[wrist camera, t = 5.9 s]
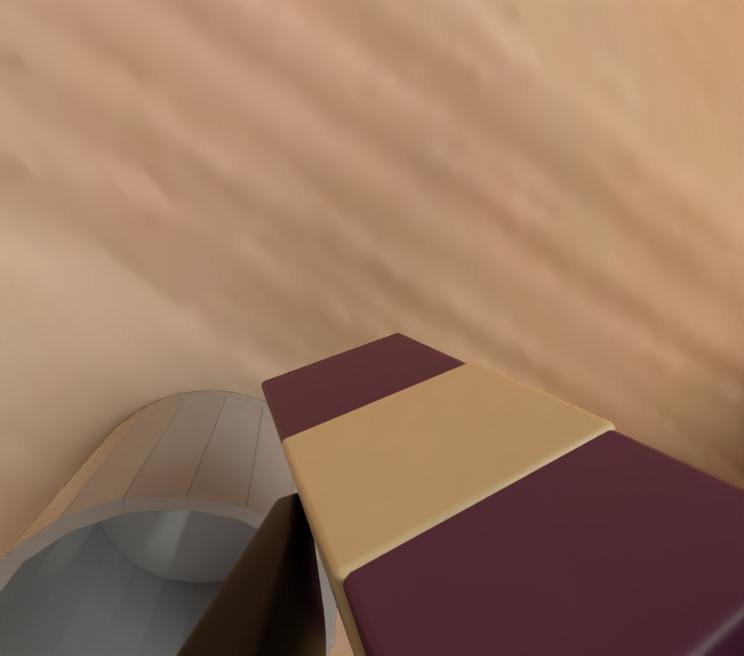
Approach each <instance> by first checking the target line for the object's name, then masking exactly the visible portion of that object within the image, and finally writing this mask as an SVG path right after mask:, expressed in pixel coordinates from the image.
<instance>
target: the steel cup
mask: <svg viewBox="0 0 744 656" xmlns="http://www.w3.org/2000/svg"><path fill="white" fill-rule="evenodd" d="M294 493H298V491H297V488H296V485H295V482H294V480H293V477H292V474H291V471H290V468H289V465H288V462H287V459H286V456H285V453H284V450H283V448H282V444H281V441H280V438H279V436H278V433H277V430H276V427H275V424H274V421H273V418H272V415H271V412H270V409H269V406H268V404H267V403H265V402H263V401H260V400H258V399H255V398H252V397H250V396H246V395H241V394H237V393H232V392H223V391H197V392H189V393H183V394H179V395H175V396H170V397H167V398H165V399H162V400H159V401H156V402H154V403H152V404H150V405H148V406H146V407H144V408H142V409H140V410H139V411H137V412H136V413H134V414H133V415H131V416H130V417H129V418H127V419H126V420H125V421H124V422H123V423H122V424H120V425H119V426H118V427H117V428H115V429H114V430H113V431H112V432H111V433H110V435H109V436H108V437H107V438H106V439H105V440H104V441H103V443H102V444H101V445H100V446H99V447H98V448H97V450H96V451H95V452H94V453H93V454H92V455H91V456H90V458H89V459H88V460H87V461H86V462H85V463H84V465H83V466H82V467H81V468H80V469H79V470H78V471H77V473H76V474H75V475H74V476H73V477H72V478H71V480H70V481H69V482H68V483H67V484H66V485H65V486H64V488H63V489H62V490H61V491H60V492H59V493H58V494H57V496H56V497H55V498H54V499H53V500H52V501H51V503H50V504H49V505H48V506H47V507H46V508H45V509H44V511H43V512H42V513H41V514H40V515H39V516H38V518H37V519H36V520H35V521H34V522H33V523H32V524H31V526H30V527H29V528H28V529H27V530H26V531H25V533H24V534H23V535H22V536H21V537H20V538H19V539H18V541H17V542H16V543H15V544H14V545H13V546H12V547H11V549H10V550H9V551H8V552H7V553H6V554H5V556H4V557H3V558H2V560H1V561H0V656H176V655H177V653H178V652H179V650H180V649H181V647H182V646H183V644H184V643H185V641H186V640H187V638H188V636H189V635H190V633H191V632H192V630H193V629H194V627H195V626H196V624H197V622H198V621H199V619H200V618H201V616H202V615H203V613H204V612H205V610H206V609H207V607H208V605H209V604H210V602H211V601H212V599H213V598H214V596H215V595H216V593H217V592H218V590H219V588H220V587H221V585H222V584H223V582H224V581H225V579H226V578H227V576H228V574H229V573H230V571H231V570H232V568H233V567H234V565H235V564H236V562H237V561H238V559H239V557H240V556H241V554H242V553H243V551H244V550H245V548H246V547H247V545H248V544H249V542H250V540H251V539H252V537H253V536H254V534H255V533H256V531H257V530H258V528H259V526H260V525H261V523H262V522H263V520H264V519H265V517H266V516H267V514H268V513H269V511H270V509H271V508H272V506H273V505H274V503H275V502H276V500H277V499H279V498H281V497H284V496H287V495H290V494H294ZM314 542H315V541H314ZM315 549H316V557H317V564H318V571H319V578H320V585H321V593H322V600H323V607H324V616H325V629H326V656H329V654H330V651H331V649H332V647H333V645H334V641H335V630H336V613H337V605H336V602H335V599H334V596H333V593H332V590H331V587H330V584H329V581H328V578H327V575H326V573H325V570H324V567H323V564H322V561H321V558H320V555H319V552H318V549H317V546H316V544H315Z"/></svg>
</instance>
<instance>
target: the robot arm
mask: <svg viewBox="0 0 744 656" xmlns="http://www.w3.org/2000/svg"><path fill="white" fill-rule="evenodd" d="M176 656H326V629H325V616H324V607H323V600H322V593H321V585H320V578H319V571H318V564H317V557H316V549H315V542H314V538H313V535H312V532H311V529H310V526H309V523H308V520H307V517H306V514H305V512H304V509H303V506H302V503H301V500H300V497H299V494H298V493H294V494H290V495H287V496H284V497H281V498H279V499H277V500H276V502H275V503H274V505H273V506H272V508H271V509H270V511H269V513H268V514H267V516H266V517H265V519H264V520H263V522H262V523H261V525H260V526H259V528H258V530H257V531H256V533H255V534H254V536H253V537H252V539H251V540H250V542H249V544H248V545H247V547H246V548H245V550H244V551H243V553H242V554H241V556H240V557H239V559H238V561H237V562H236V564H235V565H234V567H233V568H232V570H231V571H230V573H229V574H228V576H227V578H226V579H225V581H224V582H223V584H222V585H221V587H220V588H219V590H218V592H217V593H216V595H215V596H214V598H213V599H212V601H211V602H210V604H209V605H208V607H207V609H206V610H205V612H204V613H203V615H202V616H201V618H200V619H199V621H198V622H197V624H196V626H195V627H194V629H193V630H192V632H191V633H190V635H189V636H188V638H187V640H186V641H185V643H184V644H183V646H182V647H181V649H180V650H179V652H178V653H177V655H176Z"/></svg>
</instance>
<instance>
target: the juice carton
mask: <svg viewBox="0 0 744 656" xmlns="http://www.w3.org/2000/svg"><path fill="white" fill-rule="evenodd" d="M262 389H263V392H264V395H265V398H266V401H267V404H268V406H269V409H270V412H271V415H272V418H273V421H274V424H275V427H276V430H277V433H278V436H279V438H280V441H281V444H282V448H283V450H284V453H285V456H286V459H287V462H288V465H289V468H290V471H291V474H292V477H293V480H294V482H295V485H296V488H297V491H298V494H299V497H300V500H301V503H302V506H303V509H304V512H305V514H306V517H307V520H308V523H309V526H310V529H311V532H312V535H313V538H314V541H315V544H316V546H317V549H318V552H319V555H320V558H321V561H322V564H323V567H324V570H325V573H326V575H327V578H328V581H329V584H330V587H331V590H332V593H333V596H334V599H335V602H336V605H337V607H338V610H339V613H340V616H341V619H342V622H343V625H344V628H345V631H346V634H347V637H348V639H349V642H350V645H351V648H352V651H353V654H354V656H744V489H742V488H740V487H738V486H735V485H733V484H731V483H729V482H727V481H724V480H722V479H720V478H718V477H716V476H713V475H711V474H709V473H707V472H705V471H702V470H700V469H698V468H696V467H694V466H691V465H689V464H687V463H685V462H683V461H680V460H678V459H676V458H674V457H671V456H669V455H667V454H665V453H663V452H660V451H658V450H656V449H654V448H652V447H649V446H647V445H645V444H643V443H641V442H638V441H636V440H634V439H632V438H630V437H627V436H625V435H623V434H621V433H619V432H616V428H615V426H614V424H613V423H612V422H611V421H608V420H606V419H604V418H602V417H599V416H597V415H595V414H592V413H590V412H588V411H585V410H583V409H581V408H579V407H576V406H574V405H572V404H569V403H567V402H565V401H562V400H560V399H558V398H556V397H553V396H551V395H549V394H546V393H544V392H542V391H539V390H537V389H535V388H533V387H530V386H528V385H526V384H523V383H521V382H519V381H516V380H514V379H512V378H510V377H507V376H505V375H503V374H500V373H498V372H496V371H493V370H491V369H489V368H487V367H484V366H482V365H480V364H477V363H475V362H469V363H467V364H466V363H464V362H462V361H460V360H457V359H455V358H453V357H451V356H449V355H446V354H444V353H442V352H440V351H438V350H435V349H433V348H431V347H429V346H427V345H424V344H422V343H420V342H418V341H416V340H413V339H411V338H409V337H407V336H404V335H402V334H400V333H396V334H393V335H390V336H387V337H385V338H382V339H379V340H376V341H374V342H371V343H368V344H365V345H363V346H360V347H357V348H354V349H352V350H349V351H346V352H343V353H341V354H338V355H335V356H332V357H330V358H327V359H324V360H321V361H318V362H316V363H313V364H310V365H307V366H305V367H302V368H299V369H296V370H294V371H291V372H288V373H285V374H283V375H280V376H277V377H274V378H272V379H269V380H266V381H264V382H263V383H262Z"/></svg>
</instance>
